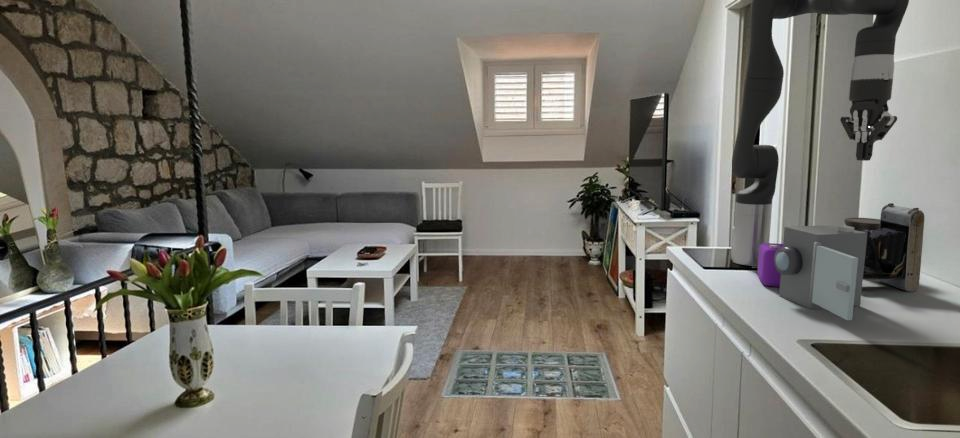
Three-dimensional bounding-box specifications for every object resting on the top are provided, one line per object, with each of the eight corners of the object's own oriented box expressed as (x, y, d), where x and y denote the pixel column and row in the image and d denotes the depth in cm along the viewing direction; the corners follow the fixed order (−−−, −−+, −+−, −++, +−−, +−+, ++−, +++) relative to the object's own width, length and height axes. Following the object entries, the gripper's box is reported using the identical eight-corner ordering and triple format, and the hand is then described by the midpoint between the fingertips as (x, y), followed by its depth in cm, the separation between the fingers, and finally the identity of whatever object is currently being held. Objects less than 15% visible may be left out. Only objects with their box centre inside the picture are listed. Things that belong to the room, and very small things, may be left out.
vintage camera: (829, 284, 145) (835, 205, 142) (888, 281, 146) (895, 202, 143) (857, 296, 136) (864, 211, 132) (920, 292, 137) (928, 208, 133)
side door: (813, 302, 124) (818, 242, 122) (852, 322, 111) (859, 255, 109) (805, 302, 124) (810, 242, 122) (843, 322, 111) (850, 255, 109)
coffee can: (890, 279, 148) (896, 224, 146) (843, 275, 152) (848, 222, 150) (880, 270, 158) (886, 218, 155) (836, 267, 162) (841, 216, 159)
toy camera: (789, 275, 152) (792, 238, 151) (813, 290, 139) (817, 248, 137) (745, 274, 153) (748, 237, 152) (765, 289, 140) (768, 248, 138)
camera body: (768, 296, 133) (774, 222, 131) (825, 293, 136) (831, 220, 133) (799, 309, 124) (806, 230, 121) (860, 305, 126) (868, 228, 124)
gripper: (832, 80, 130) (825, 159, 133) (882, 75, 117) (873, 162, 120) (861, 80, 131) (854, 158, 134) (914, 75, 118) (905, 161, 121)
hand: (863, 160), depth 127 cm, fingers closed
